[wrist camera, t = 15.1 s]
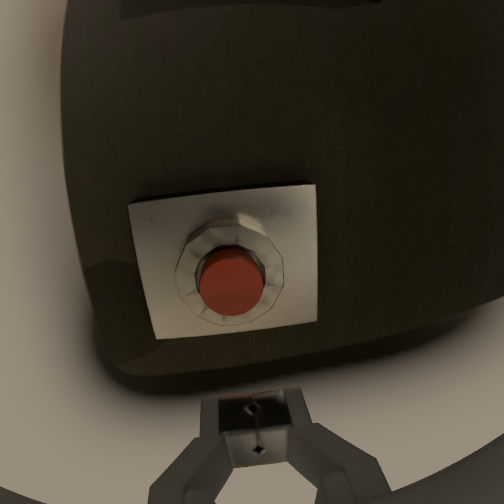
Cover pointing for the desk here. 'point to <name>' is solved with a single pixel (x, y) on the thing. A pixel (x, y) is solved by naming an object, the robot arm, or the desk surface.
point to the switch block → (227, 237)
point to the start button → (230, 282)
